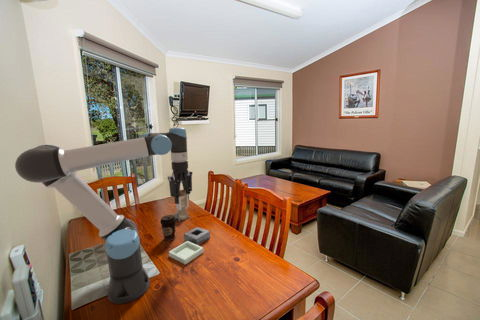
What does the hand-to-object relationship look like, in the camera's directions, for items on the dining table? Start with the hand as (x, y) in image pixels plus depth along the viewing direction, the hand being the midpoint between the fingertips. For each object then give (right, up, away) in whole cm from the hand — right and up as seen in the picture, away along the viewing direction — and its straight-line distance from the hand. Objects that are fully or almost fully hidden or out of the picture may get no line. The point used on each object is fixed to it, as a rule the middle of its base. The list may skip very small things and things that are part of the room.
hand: (182, 207), depth 112 cm
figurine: (-12, -17, +45) cm, 50 cm away
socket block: (+4, -21, +17) cm, 27 cm away
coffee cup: (-12, -22, +19) cm, 31 cm away
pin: (0, -5, +1) cm, 5 cm away
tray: (+1, -24, +3) cm, 24 cm away
